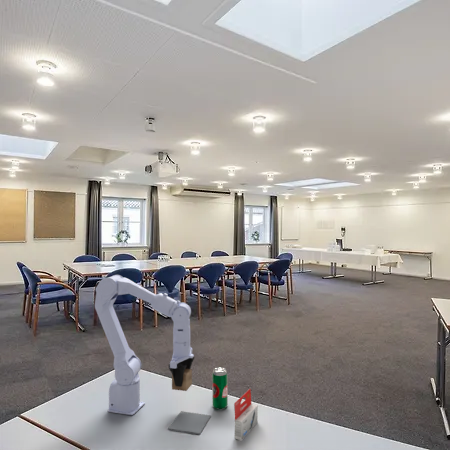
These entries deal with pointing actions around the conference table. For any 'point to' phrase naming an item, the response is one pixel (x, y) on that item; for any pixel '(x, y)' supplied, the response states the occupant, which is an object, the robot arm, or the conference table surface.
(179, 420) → the pad
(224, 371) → the soda can
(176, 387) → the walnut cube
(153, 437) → the conference table surface
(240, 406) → the ink cartridge box
